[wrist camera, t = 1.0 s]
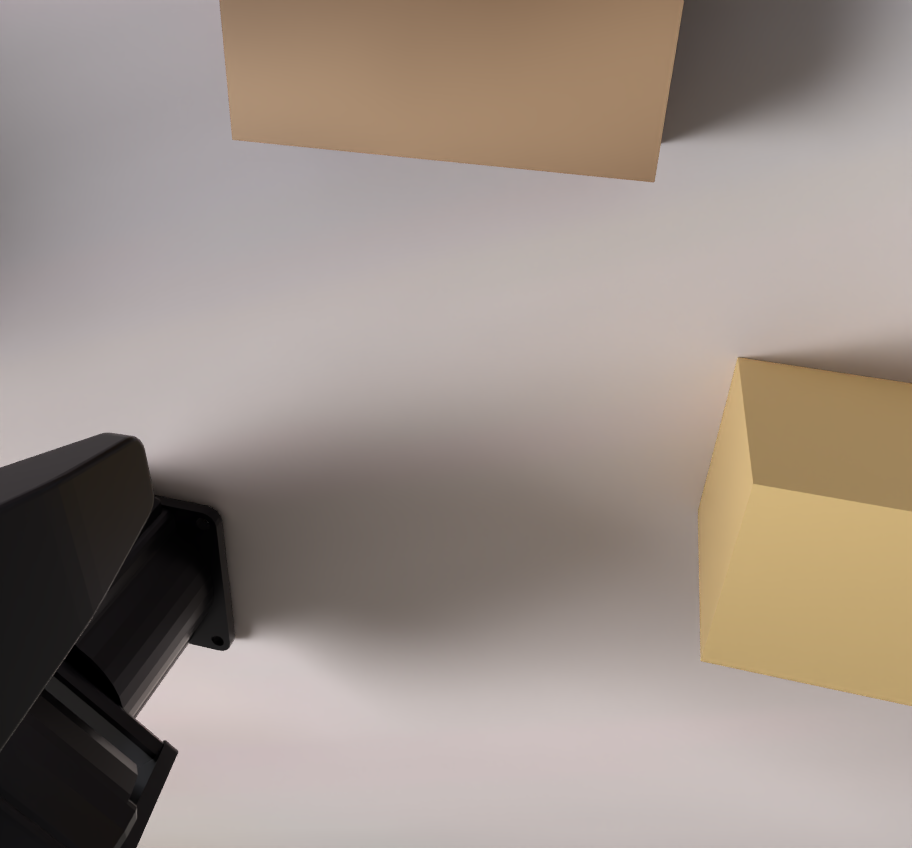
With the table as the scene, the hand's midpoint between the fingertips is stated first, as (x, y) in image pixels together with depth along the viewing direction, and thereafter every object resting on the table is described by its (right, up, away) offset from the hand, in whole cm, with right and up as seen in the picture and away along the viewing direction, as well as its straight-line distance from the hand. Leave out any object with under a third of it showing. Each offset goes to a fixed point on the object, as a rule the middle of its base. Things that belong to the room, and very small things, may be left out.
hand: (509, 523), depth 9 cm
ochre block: (+9, 0, +13) cm, 16 cm away
